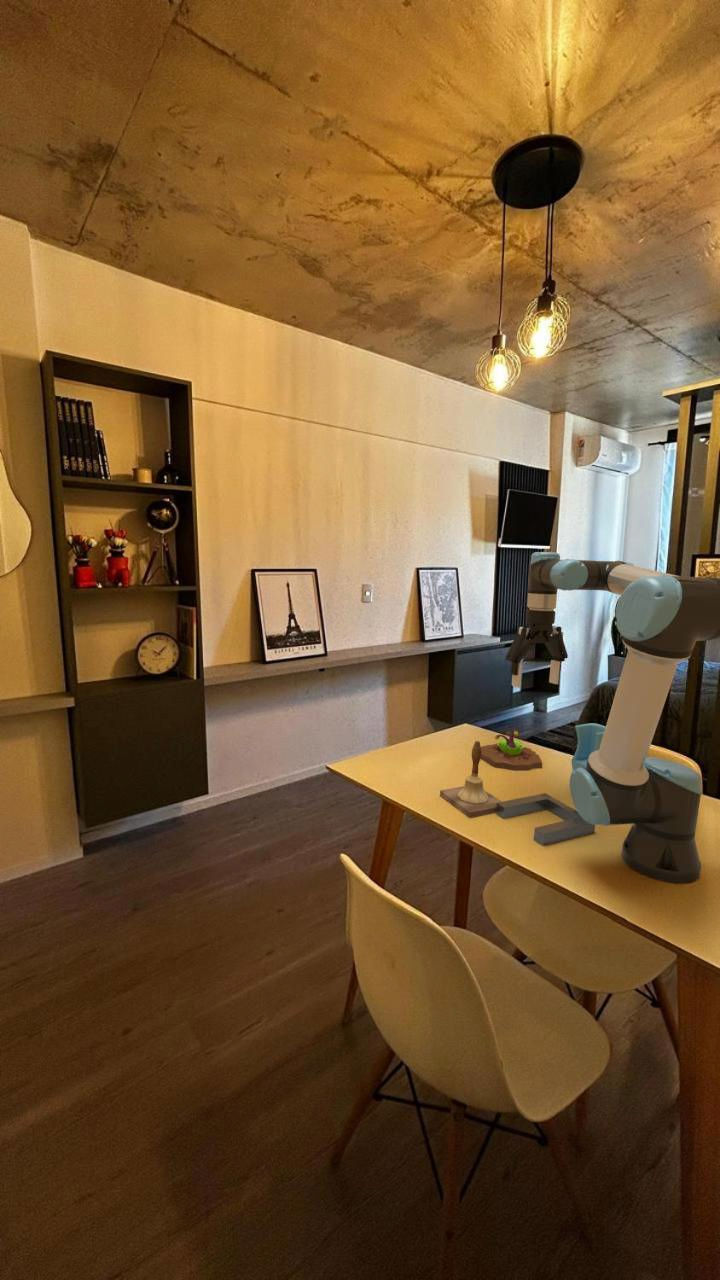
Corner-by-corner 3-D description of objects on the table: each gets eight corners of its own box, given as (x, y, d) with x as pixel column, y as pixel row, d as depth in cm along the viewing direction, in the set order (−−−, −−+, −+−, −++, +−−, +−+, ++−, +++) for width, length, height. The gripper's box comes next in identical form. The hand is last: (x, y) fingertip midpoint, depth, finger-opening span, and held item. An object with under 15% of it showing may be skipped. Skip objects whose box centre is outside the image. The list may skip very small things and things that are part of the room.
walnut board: (506, 810, 140) (507, 804, 139) (469, 817, 135) (470, 812, 134) (474, 789, 152) (475, 784, 152) (439, 795, 147) (440, 790, 147)
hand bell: (486, 792, 147) (489, 737, 145) (490, 805, 139) (494, 747, 136) (456, 790, 148) (459, 735, 145) (459, 803, 139) (462, 745, 137)
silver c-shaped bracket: (594, 832, 129) (595, 821, 128) (542, 845, 122) (543, 833, 122) (544, 803, 144) (545, 793, 144) (496, 813, 137) (496, 802, 137)
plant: (493, 772, 166) (495, 738, 164) (471, 751, 185) (473, 720, 183) (552, 770, 169) (555, 737, 167) (524, 749, 188) (526, 719, 186)
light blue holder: (568, 792, 152) (574, 725, 149) (587, 787, 156) (593, 722, 153) (591, 803, 145) (598, 733, 142) (610, 798, 149) (617, 730, 146)
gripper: (564, 607, 152) (558, 679, 155) (495, 608, 142) (490, 684, 145) (585, 610, 145) (578, 684, 148) (514, 610, 135) (508, 691, 138)
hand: (535, 685), depth 147 cm, fingers open, 13 cm apart
